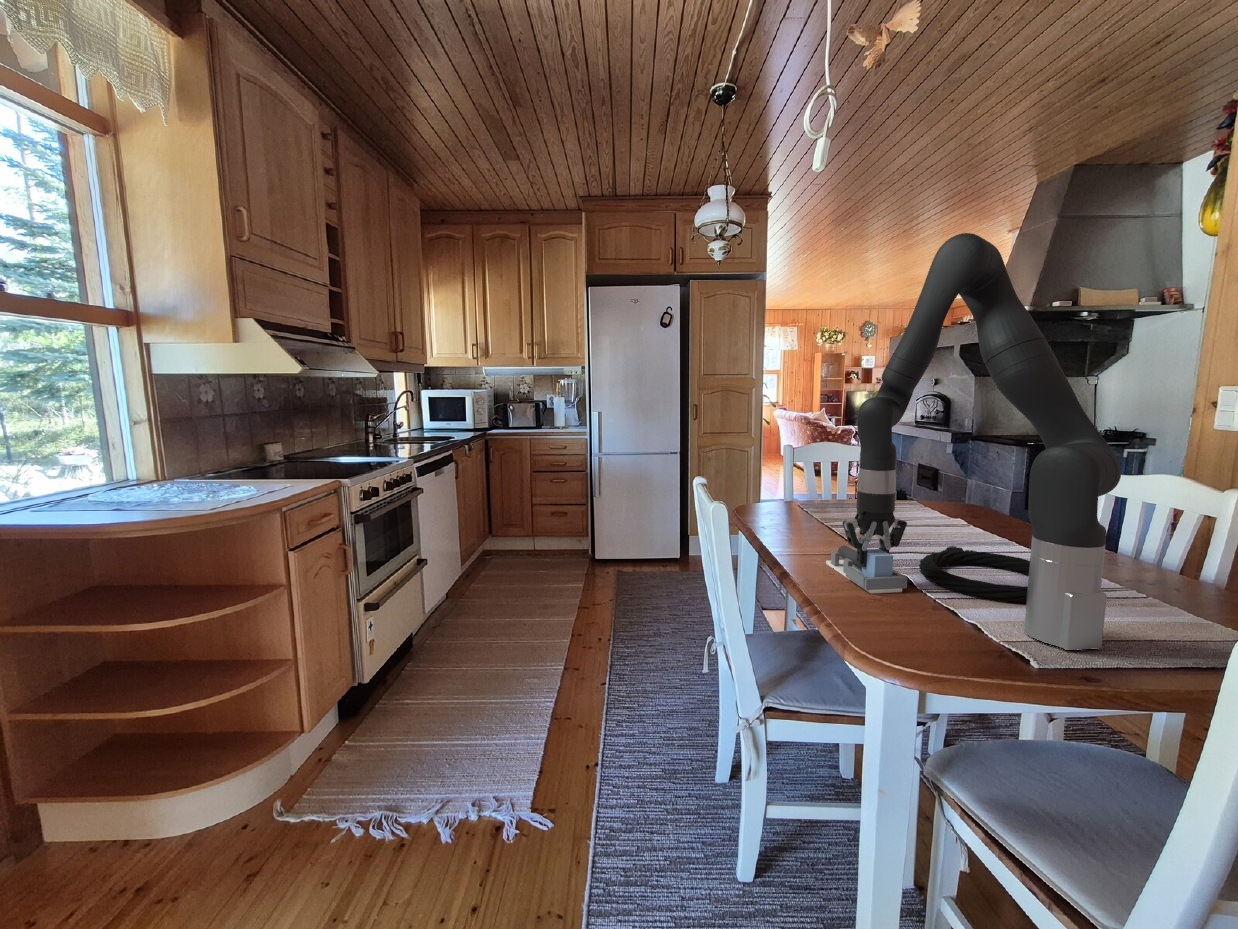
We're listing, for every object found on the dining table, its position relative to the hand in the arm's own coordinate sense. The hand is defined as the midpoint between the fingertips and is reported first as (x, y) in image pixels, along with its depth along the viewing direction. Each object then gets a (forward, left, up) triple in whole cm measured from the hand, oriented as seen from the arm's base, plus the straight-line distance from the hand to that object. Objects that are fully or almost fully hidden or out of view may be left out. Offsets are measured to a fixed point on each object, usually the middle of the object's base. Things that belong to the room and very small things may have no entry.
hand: (872, 565), depth 115 cm
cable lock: (-1, -26, -5) cm, 27 cm away
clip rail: (+5, 0, -4) cm, 7 cm away
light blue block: (+4, 0, -2) cm, 5 cm away
